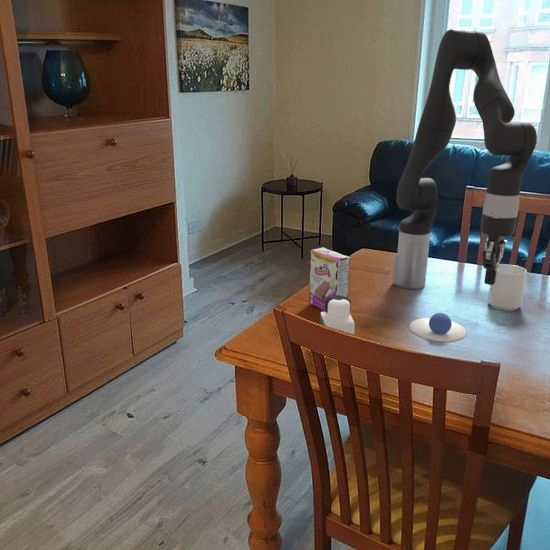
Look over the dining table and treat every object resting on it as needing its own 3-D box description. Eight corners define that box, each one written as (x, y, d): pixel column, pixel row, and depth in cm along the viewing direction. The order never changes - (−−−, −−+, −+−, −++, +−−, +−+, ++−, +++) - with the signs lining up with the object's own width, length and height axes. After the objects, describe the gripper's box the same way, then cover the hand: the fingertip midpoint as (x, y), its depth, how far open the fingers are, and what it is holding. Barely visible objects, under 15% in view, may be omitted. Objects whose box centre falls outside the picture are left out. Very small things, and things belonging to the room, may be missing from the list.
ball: (434, 313, 138) (456, 322, 137) (434, 306, 143) (454, 315, 142) (425, 332, 140) (446, 341, 139) (425, 325, 145) (445, 333, 144)
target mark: (401, 332, 142) (401, 331, 142) (420, 314, 153) (420, 313, 153) (456, 346, 135) (456, 345, 135) (472, 326, 146) (472, 325, 146)
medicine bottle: (319, 337, 139) (320, 292, 135) (347, 336, 140) (349, 292, 136) (323, 350, 133) (325, 304, 129) (353, 350, 133) (356, 303, 129)
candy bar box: (307, 304, 159) (309, 249, 154) (320, 300, 162) (323, 246, 157) (334, 317, 151) (337, 259, 146) (348, 313, 154) (351, 256, 148)
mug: (523, 313, 155) (530, 275, 151) (490, 310, 156) (495, 273, 153) (514, 297, 166) (520, 261, 162) (483, 295, 168) (488, 259, 164)
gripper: (490, 205, 135) (480, 273, 141) (475, 216, 124) (465, 288, 130) (523, 209, 131) (512, 278, 137) (510, 220, 121) (499, 295, 126)
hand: (489, 283), depth 134 cm, fingers closed
